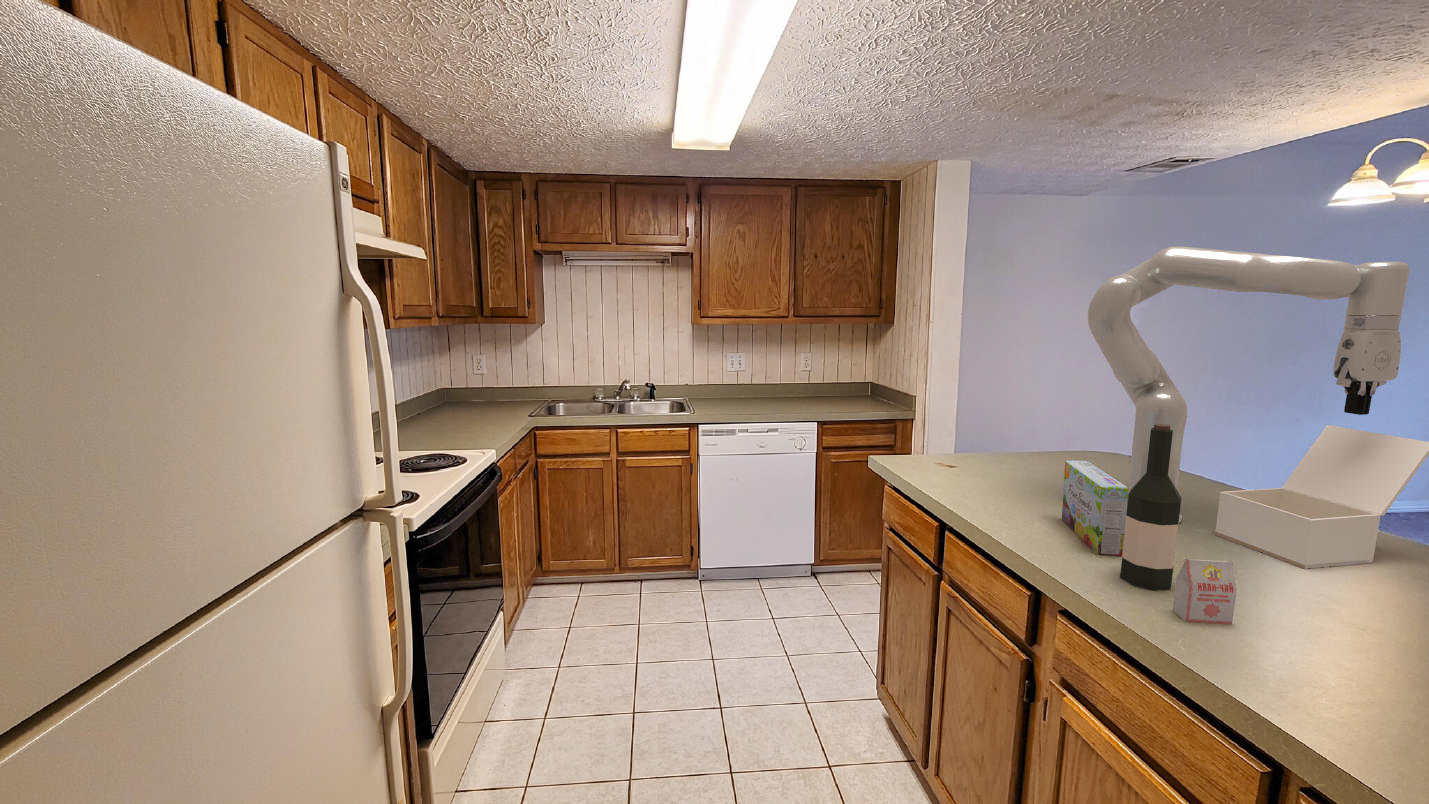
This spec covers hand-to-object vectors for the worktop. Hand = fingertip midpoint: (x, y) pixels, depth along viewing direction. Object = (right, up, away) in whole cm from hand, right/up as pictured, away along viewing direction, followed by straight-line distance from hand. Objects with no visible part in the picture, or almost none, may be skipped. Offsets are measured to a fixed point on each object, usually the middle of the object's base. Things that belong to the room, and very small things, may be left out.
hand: (1356, 413), depth 123 cm
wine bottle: (-52, -32, -11) cm, 62 cm away
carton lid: (+1, -11, +2) cm, 11 cm away
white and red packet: (-52, -34, -24) cm, 66 cm away
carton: (-11, -29, +3) cm, 31 cm away
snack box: (-49, -28, +10) cm, 57 cm away
